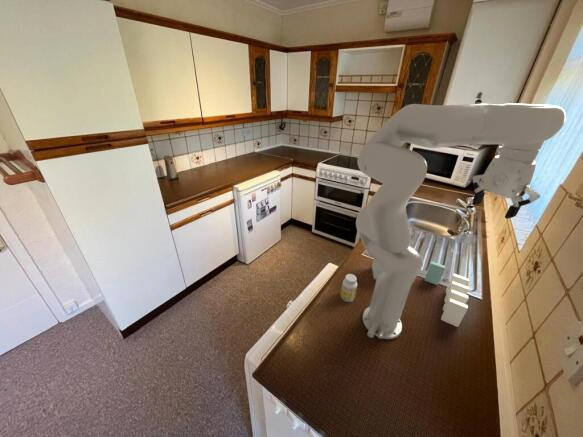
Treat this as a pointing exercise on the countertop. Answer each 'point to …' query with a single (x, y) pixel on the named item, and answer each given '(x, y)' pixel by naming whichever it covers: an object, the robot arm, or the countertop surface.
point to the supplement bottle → (349, 288)
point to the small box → (377, 269)
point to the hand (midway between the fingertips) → (491, 210)
